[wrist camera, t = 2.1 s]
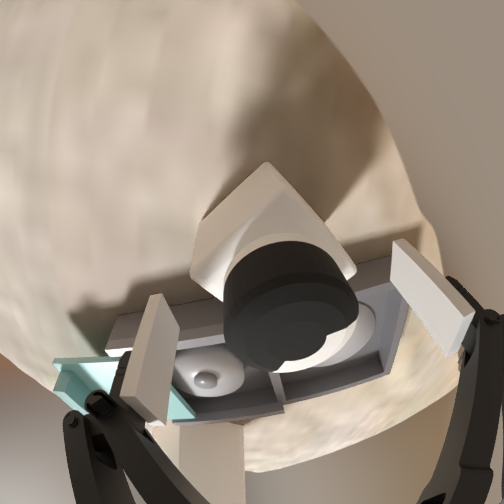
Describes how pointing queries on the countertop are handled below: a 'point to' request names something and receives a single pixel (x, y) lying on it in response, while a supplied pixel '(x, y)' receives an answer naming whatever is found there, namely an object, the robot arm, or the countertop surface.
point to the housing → (270, 383)
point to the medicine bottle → (275, 276)
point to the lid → (101, 383)
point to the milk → (207, 458)
